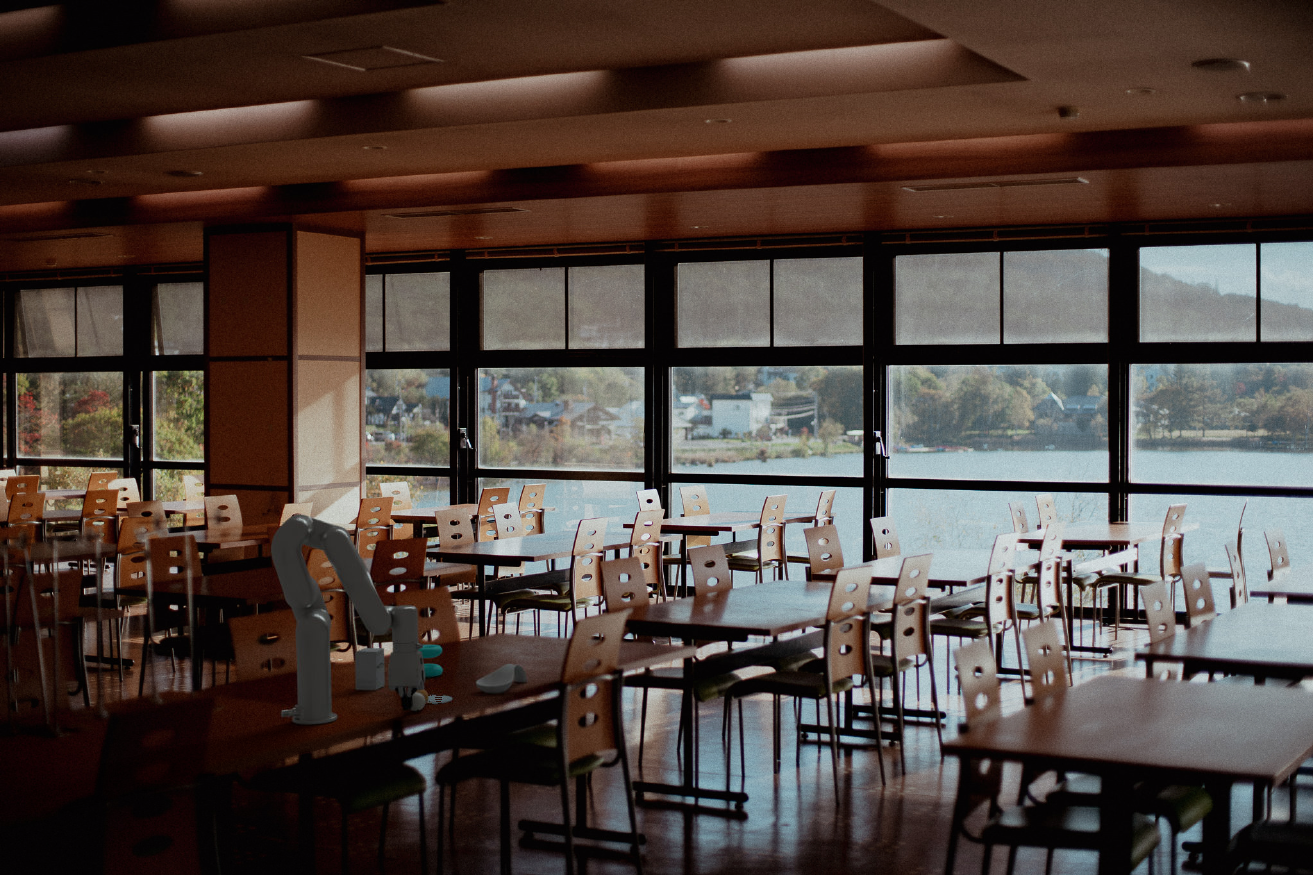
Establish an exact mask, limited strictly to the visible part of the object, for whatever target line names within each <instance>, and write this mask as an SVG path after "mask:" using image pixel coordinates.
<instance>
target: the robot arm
mask: <svg viewBox="0 0 1313 875" xmlns="http://www.w3.org/2000/svg"><path fill="white" fill-rule="evenodd" d="M304 545H305V546H307V547H310V548H313V549H316V550H321V551H323V553H324V554H325V557H326V558H327V560H328V561H329V563H330V565H331V566H332V569H333V570H334V572H335V574H336V576H337V578H338V579H339V582H340V583H341V585H342V587H343V589H344V591H345V593H346V594H347V595H348V598H349V599H350V601H351V603H352V605H353V607H354V609H355V610H356V612H357V614H358V616H359V618H360V619H361V621H362V623H363V625H364V627H365V629H366V630H368V632H369V633H370V634H373V635H374V636H375V635H376V636H377V635H378V636H379V635H384V634H385V633H387V632H388V631H389V630H391V632H392V633H391V635H392V637H391V639H392V651H391V652H390V655H389V662H388V677H387V679H388V680H387V681H388V689H389V691H395V692H396V693H397V694H398V695H399V697H400V706H401V708H402V711H410V710H411V707H412V706H413V697H412V696H413V695H414V693H415V692H416V691H420V690H423V689H424V690H425V682H426V677H425V670H424V664H425V663H424V658H423V656H422V652H421V651H419V649H420V648H423V645H424V644H423V643H420V641H419V616H418V608H417V607H416V606H414V605H408V604H407V605H397V606H391V605H384V603H383V602H382V599H381V598H380V596H379V593H378V592H377V589H376V588H375V586H374V583H373V578H372V577H371V573H370V570H369V569H368V567H367V565H366V564H365V561H364V560H363V558H362V557H361V555H360V553H359V550H358V549H357V548H356V546H355V544H354V542H353V541H352V537H351V534H350V532H349V531H348V530H347V528H344V527H343V526H340V525H336V524H333V523H330V522H327V521H324V520H320V519H318V518H315V517H312V516H308V515H305V514H301V513H300V514H295V515H291V516H290V517H289V518H288V519H286V520H285V521H284V522H282V524H281V525H280V527H279V528H278V529H277V531H276V532H275V533H274V535H273V538H272V541H271V545H270V546H271V548H270V550H271V551H270V552H271V559H272V562H273V564H274V568H275V571H276V574H277V577H278V580H279V583H280V586H281V590H282V593H283V596H284V598H285V601H286V603H287V604H288V605H289V607H291V610H292V612H293V616H294V618H295V620H296V621H295V622H296V626H295V646H296V671H297V672H296V677H297V678H296V679H297V680H296V681H297V682H296V683H297V704H295V705H294V707H293V708H290V709H283V710H281V712H280V716H281V717H282V718H285V717H286V718H287V717H288V718H292V722H293V723H294V724H297V725H321V724H328V723H330V722H334V721H337V719H338V714H337V713H335V712H332V710H333V709H332V708H333V707H332V670H331V668H332V667H331V663H332V662H331V629H332V620H331V617H330V614H329V611H328V608H327V605H326V603H325V600H324V597H323V594H322V591H321V589H320V585H319V584H318V582H317V581H316V579H315V578H313V577H312V576H311V575H310V572H309V570H308V567H307V563H306V560H305V558H304V555H303V551H302V549H303V546H304Z"/></svg>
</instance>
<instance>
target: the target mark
mask: <svg viewBox="0 0 1313 875" xmlns="http://www.w3.org/2000/svg"><path fill="white" fill-rule="evenodd" d="M429 695H430V696H428V697H429V698H428V702H427V703H432V704H434V705H439V704H438V703H442V704H445V703H449V702H452V700H453V697H452V696H449V695H443V696H436V695H437V694H429ZM431 695H432V696H431ZM435 697H442V698H435ZM435 699H442V700H435ZM429 701H430V702H429ZM436 701H441V702H436Z"/></svg>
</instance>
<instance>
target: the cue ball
mask: <svg viewBox="0 0 1313 875" xmlns="http://www.w3.org/2000/svg"><path fill="white" fill-rule="evenodd" d="M412 697H413V706H412V707H411V709H410V710H411V711H413V712H418V711H417V710H419V711H421V710H422V709H423V708H424V707H425V706H426V705H425V698H424V696H423V695H422V694H421V693H418V692H415V693H414V695H413V696H412Z"/></svg>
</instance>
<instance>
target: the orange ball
mask: <svg viewBox="0 0 1313 875" xmlns="http://www.w3.org/2000/svg"><path fill="white" fill-rule="evenodd" d="M416 692H418V693H421V694H422V695H423V696H424V698H425V704H426V703H427V702H428V698H429V697H428V695H429V693H428V692H427V691H426V690H425V688H424V689H423V690H420V691H416Z"/></svg>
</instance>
